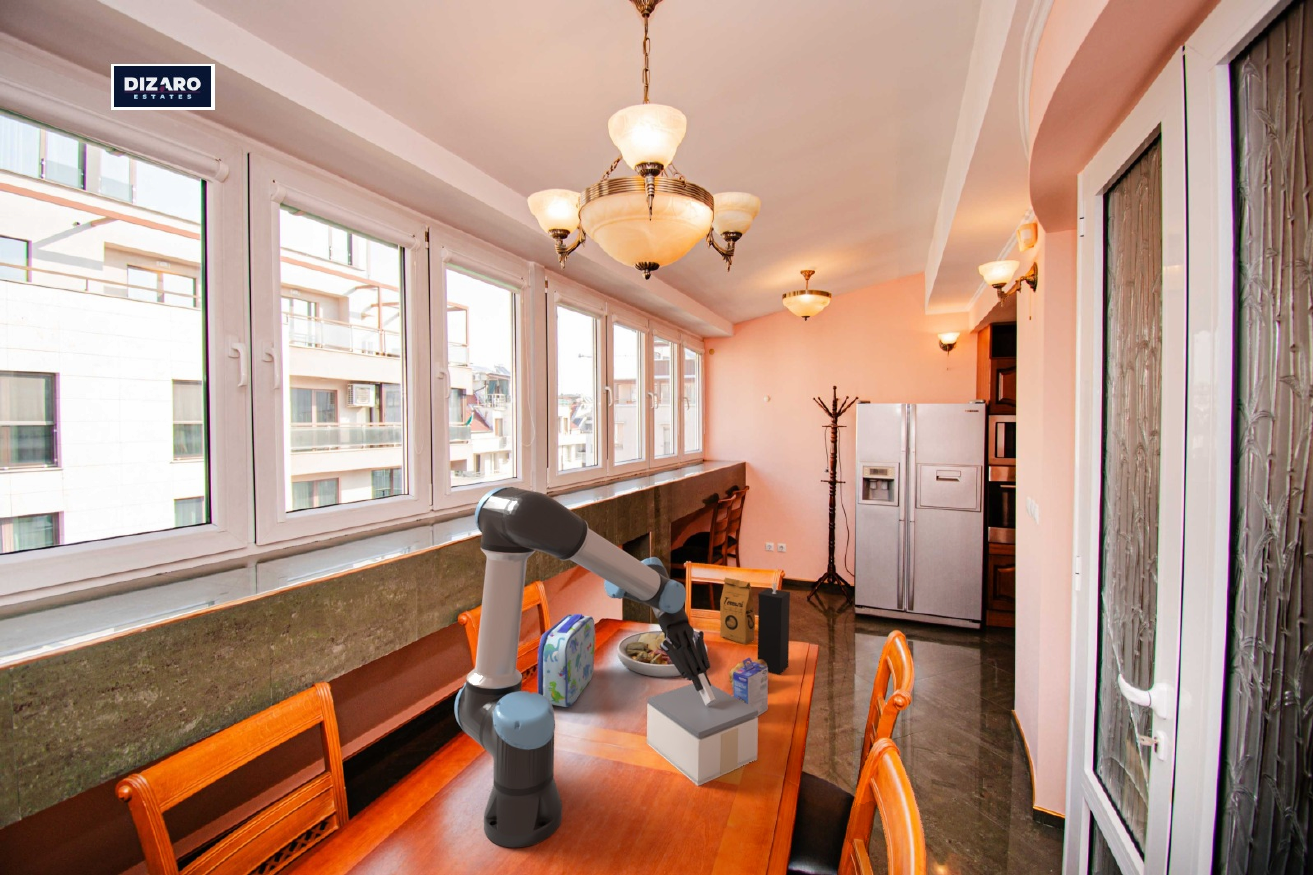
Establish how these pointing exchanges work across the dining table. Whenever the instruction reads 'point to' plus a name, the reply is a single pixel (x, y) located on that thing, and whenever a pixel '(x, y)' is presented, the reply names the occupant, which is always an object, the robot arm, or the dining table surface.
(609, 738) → the dining table surface
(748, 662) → the bread roll
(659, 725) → the storage box
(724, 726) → the box lid
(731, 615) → the coffee package
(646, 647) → the bowl
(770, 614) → the black pillar candle
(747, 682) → the ink cartridge box
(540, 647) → the lunch box
